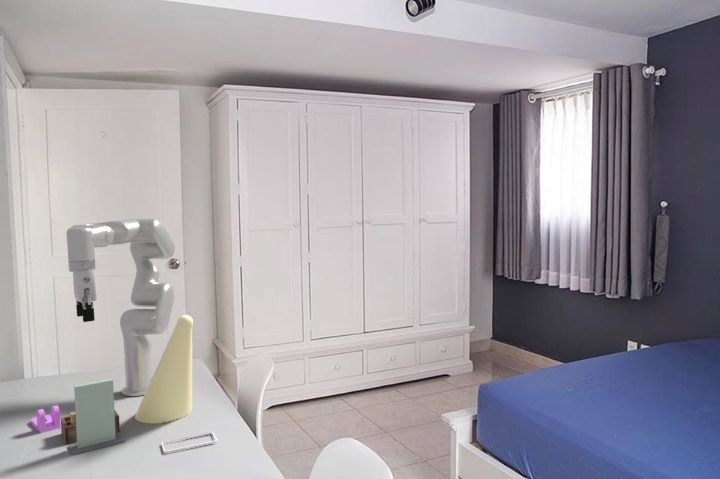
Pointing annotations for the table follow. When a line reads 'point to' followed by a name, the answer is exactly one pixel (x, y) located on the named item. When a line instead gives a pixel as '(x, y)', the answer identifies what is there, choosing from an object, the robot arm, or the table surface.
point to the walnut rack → (70, 430)
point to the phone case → (187, 446)
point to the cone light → (171, 379)
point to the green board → (94, 412)
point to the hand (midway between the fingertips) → (85, 318)
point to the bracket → (47, 420)
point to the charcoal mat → (96, 445)
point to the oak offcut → (73, 418)
